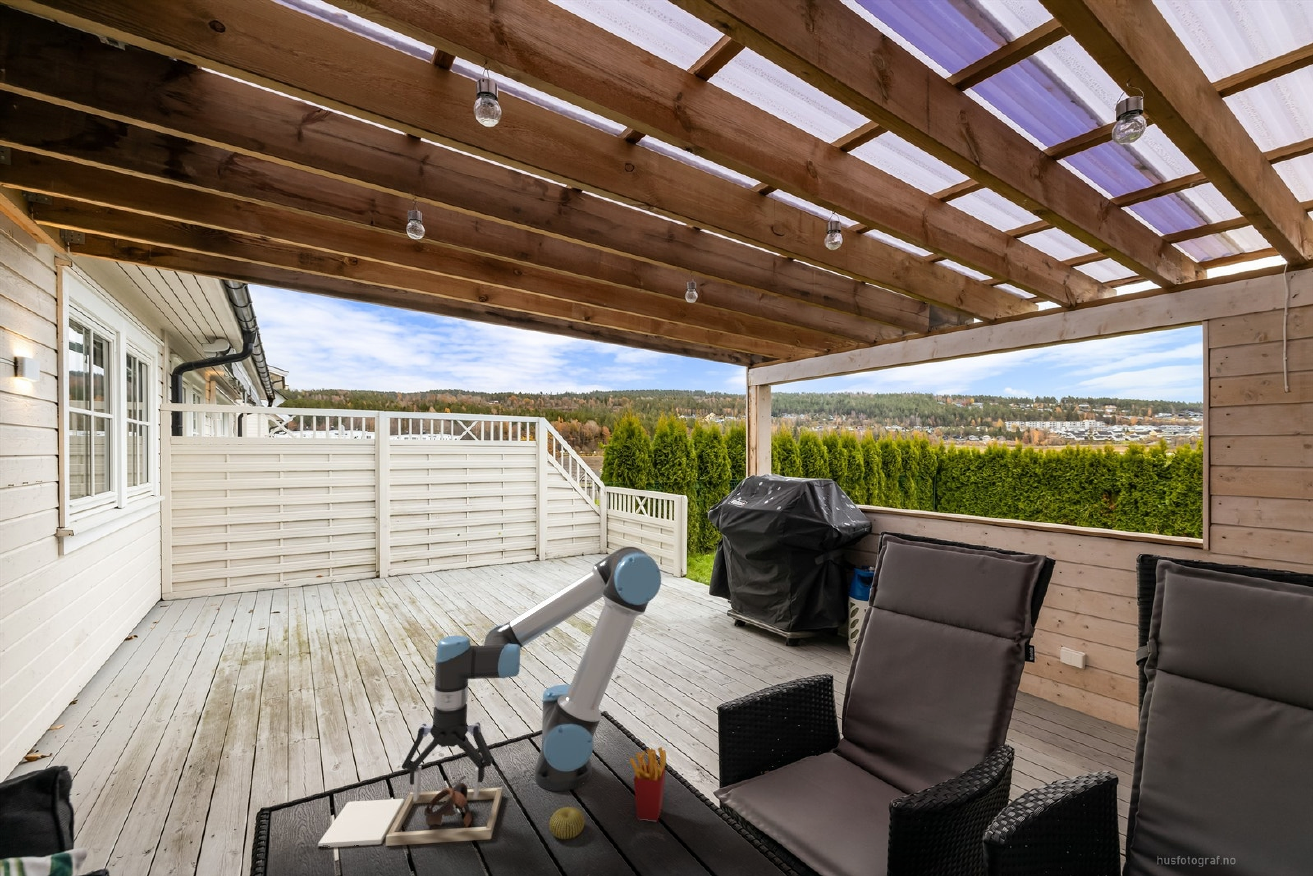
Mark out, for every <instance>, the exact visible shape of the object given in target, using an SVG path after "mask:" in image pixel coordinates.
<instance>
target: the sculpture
mask: <svg viewBox="0 0 1313 876" xmlns="http://www.w3.org/2000/svg"><path fill="white" fill-rule="evenodd" d="M573 822H574V823H573ZM585 823H586V821H585V815H584V814H583V812H582V811H581V810H580V809H579V808H577V807H574V806H564V807H560V808H559V809H556V811H554V812H553V813H552V815H551V816H550V819H549V825H548V827H549V831H550V833H551V834H552V835H553V836H554V837H556V838H558V839H561V840H566V839H567V840H569V839H572V838H575V837H576V836H577V837H578V836H579V834H580V833H581V832H582V831H583V829H584V828H585ZM571 824H572V826H571ZM574 825H575V826H574Z"/></svg>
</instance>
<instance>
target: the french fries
mask: <svg viewBox="0 0 1313 876" xmlns="http://www.w3.org/2000/svg"><path fill="white" fill-rule="evenodd" d="M657 750H658V753H659V760H658V759H657V753H656V752H657V751H656V749H654V748H652V747H651V748H648V749H647V750H646V751H645V750H643V752H642V753H640V752H639V751H638V752H637V753H635V756H636V759H637V761H638V765H637V762H636V761H635V759H634V758H633V757H631V758H629V762H630V764H631V767H632V768H633V771H634V774H635V776H634V778H633V782H634V785H633V786H634V794H635V795H634V796H635V805H636V806H635V807H636V817H637V818H639V819H648V820H656V821H659V820H658V818H659V819H660V817H659V815H660V816H661V814H660V812H661V813H662V811H661V809H662V810H663V801H664V792H665V791H664V790H665V778H666V769H667V768H666V767H665V766H666V763H667V753H666V750H665V749H663V747H662V746H661V747H658V748H657ZM646 754H647V763H646V761H645V759H644V758H645V756H646Z"/></svg>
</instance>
